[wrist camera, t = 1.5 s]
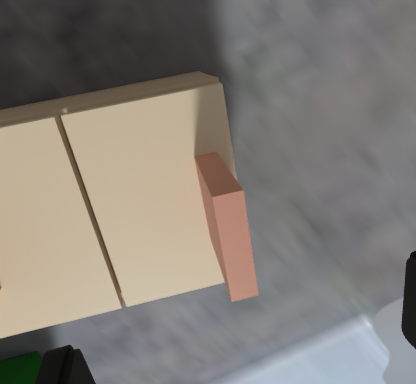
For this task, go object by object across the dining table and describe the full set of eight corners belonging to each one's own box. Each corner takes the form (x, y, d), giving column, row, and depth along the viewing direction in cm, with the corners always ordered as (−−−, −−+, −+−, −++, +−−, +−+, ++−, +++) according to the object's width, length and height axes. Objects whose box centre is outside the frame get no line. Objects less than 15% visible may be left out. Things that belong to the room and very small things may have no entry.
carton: (198, 70, 25) (219, 76, 17) (223, 215, 29) (248, 268, 22) (-29, 114, 23) (-111, 141, 16) (36, 259, 28) (-3, 330, 21)
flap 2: (219, 82, 17) (255, 95, 11) (247, 268, 22) (283, 345, 16) (64, 113, 16) (18, 144, 11) (127, 298, 21) (119, 389, 15)
